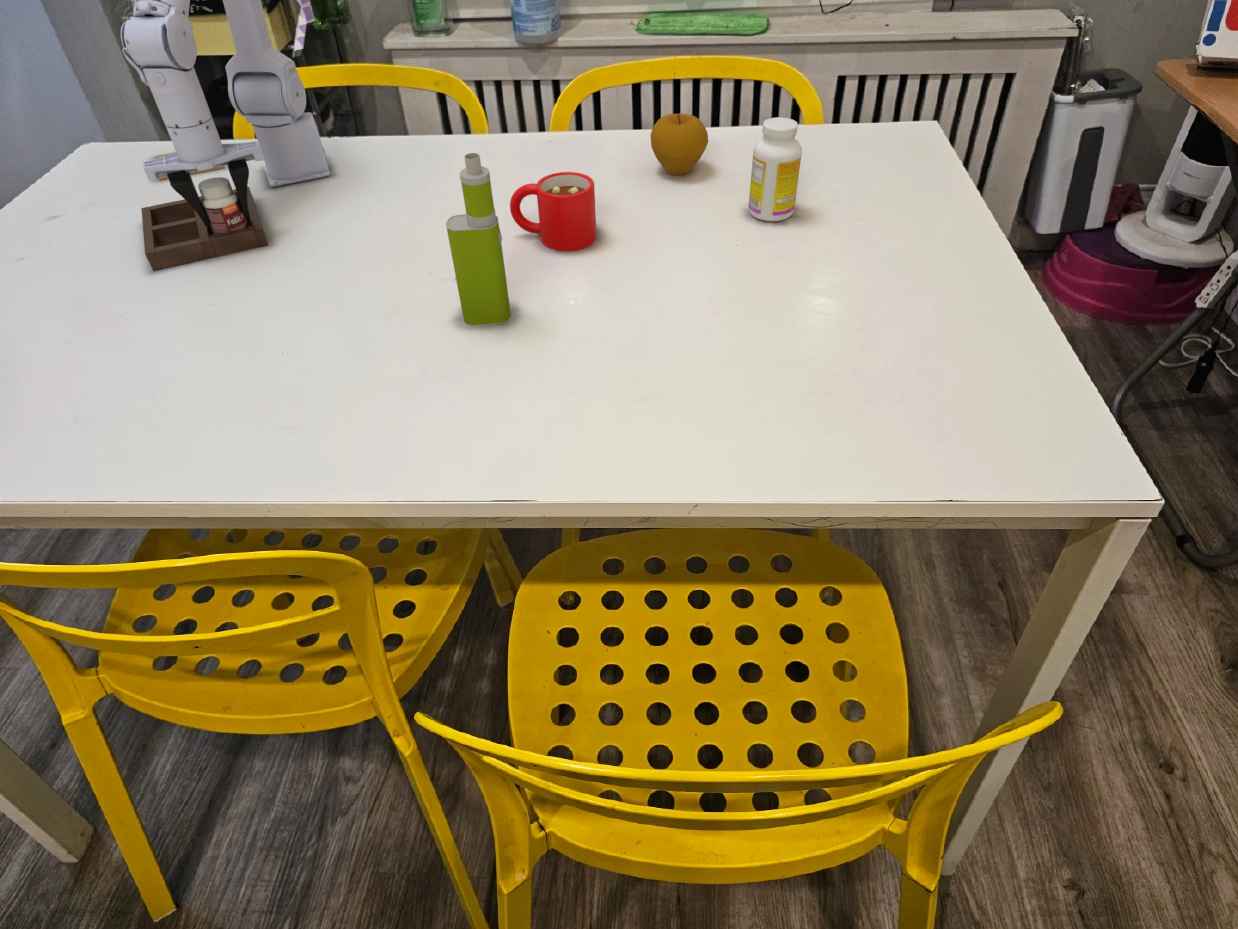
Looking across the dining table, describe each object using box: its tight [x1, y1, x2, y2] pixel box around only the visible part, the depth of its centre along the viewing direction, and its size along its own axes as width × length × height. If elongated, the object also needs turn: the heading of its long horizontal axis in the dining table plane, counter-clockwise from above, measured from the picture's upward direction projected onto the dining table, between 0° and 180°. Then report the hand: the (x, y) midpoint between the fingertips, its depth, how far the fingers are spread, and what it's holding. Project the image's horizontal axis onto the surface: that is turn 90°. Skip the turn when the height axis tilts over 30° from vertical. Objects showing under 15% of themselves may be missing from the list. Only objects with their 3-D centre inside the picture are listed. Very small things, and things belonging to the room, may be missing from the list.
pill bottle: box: [197, 176, 250, 235], centre depth 111 cm, size 5×5×8 cm
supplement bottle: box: [748, 116, 803, 222], centre depth 112 cm, size 7×7×13 cm
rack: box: [140, 186, 269, 271], centre depth 114 cm, size 15×15×3 cm
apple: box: [649, 113, 709, 176], centre depth 124 cm, size 9×9×9 cm
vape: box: [445, 152, 512, 327], centre depth 91 cm, size 4×6×20 cm, turn 95°
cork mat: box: [155, 152, 225, 181], centre depth 134 cm, size 10×10×1 cm
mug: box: [509, 171, 598, 252], centre depth 110 cm, size 8×12×8 cm, turn 84°
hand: (226, 218), depth 112 cm, fingers closed on pill bottle, 5 cm apart
